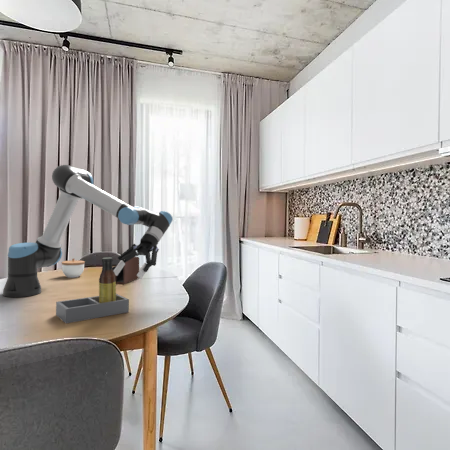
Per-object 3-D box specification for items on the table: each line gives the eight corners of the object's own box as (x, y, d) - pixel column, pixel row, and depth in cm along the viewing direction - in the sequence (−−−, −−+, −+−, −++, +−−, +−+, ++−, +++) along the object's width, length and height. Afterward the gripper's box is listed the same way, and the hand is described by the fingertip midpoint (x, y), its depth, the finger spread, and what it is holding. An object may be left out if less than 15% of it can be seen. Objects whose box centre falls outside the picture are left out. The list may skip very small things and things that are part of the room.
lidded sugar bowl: (63, 275, 199) (63, 257, 198) (85, 274, 202) (85, 257, 202) (59, 278, 187) (59, 260, 186) (82, 278, 190) (83, 259, 190)
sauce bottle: (110, 304, 130) (111, 256, 130) (119, 307, 127) (120, 257, 126) (95, 307, 125) (96, 257, 125) (103, 311, 121) (105, 259, 121)
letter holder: (139, 278, 196) (140, 255, 196) (124, 284, 177) (124, 259, 176) (124, 277, 198) (124, 254, 198) (107, 283, 178) (108, 258, 178)
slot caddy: (55, 315, 119) (56, 301, 119) (115, 305, 134) (116, 293, 134) (65, 323, 110) (66, 309, 110) (128, 312, 125) (128, 299, 125)
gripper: (176, 245, 144) (153, 284, 131) (135, 242, 155) (110, 277, 142) (169, 234, 139) (145, 273, 126) (127, 231, 151) (100, 267, 138)
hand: (126, 275), depth 134 cm, fingers open, 13 cm apart
